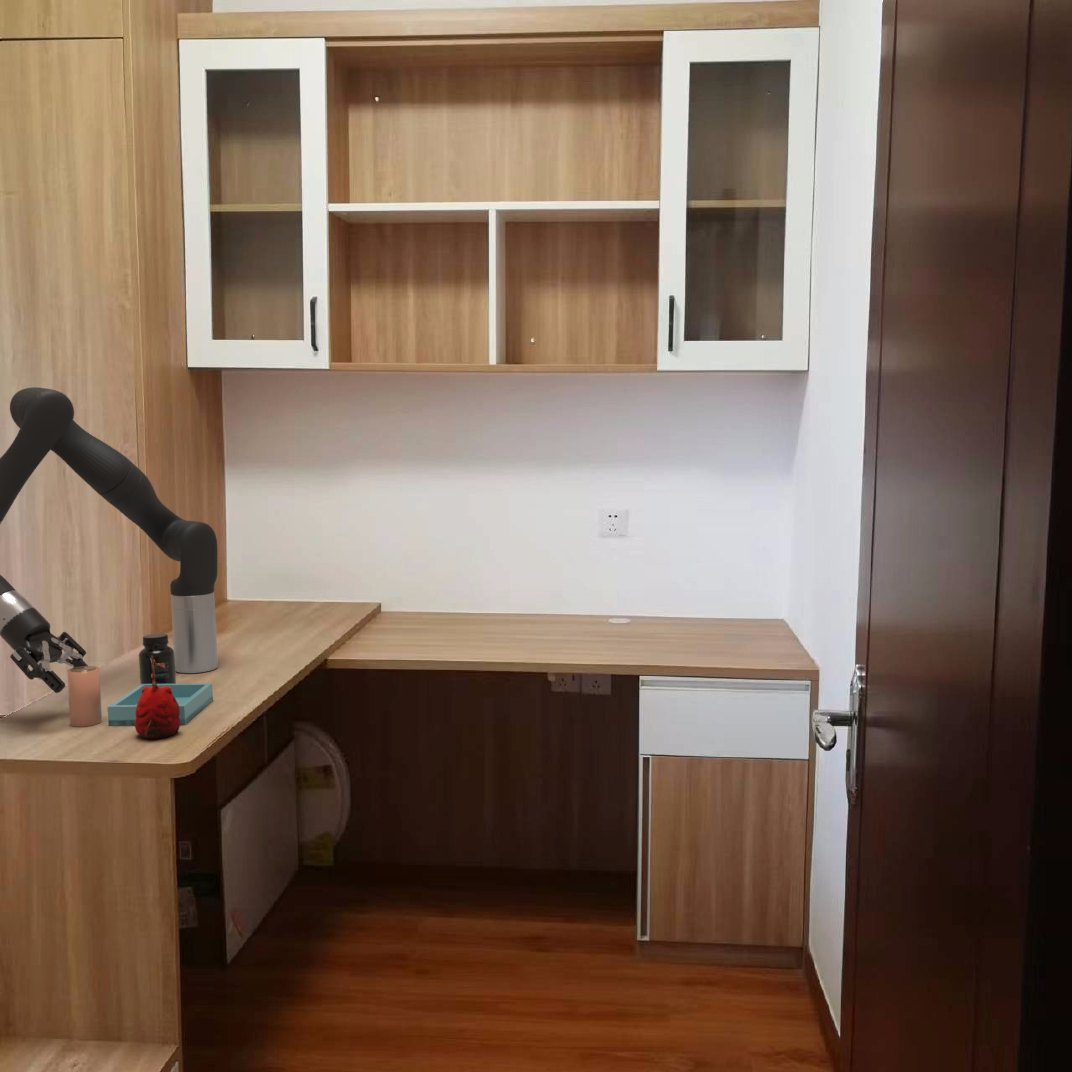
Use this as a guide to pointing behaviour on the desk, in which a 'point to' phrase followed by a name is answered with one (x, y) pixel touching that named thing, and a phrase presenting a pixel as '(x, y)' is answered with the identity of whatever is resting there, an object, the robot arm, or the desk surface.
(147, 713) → the red clay folk toy
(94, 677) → the terracotta cup
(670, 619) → the desk surface
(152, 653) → the supplement bottle
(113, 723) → the teal tray
